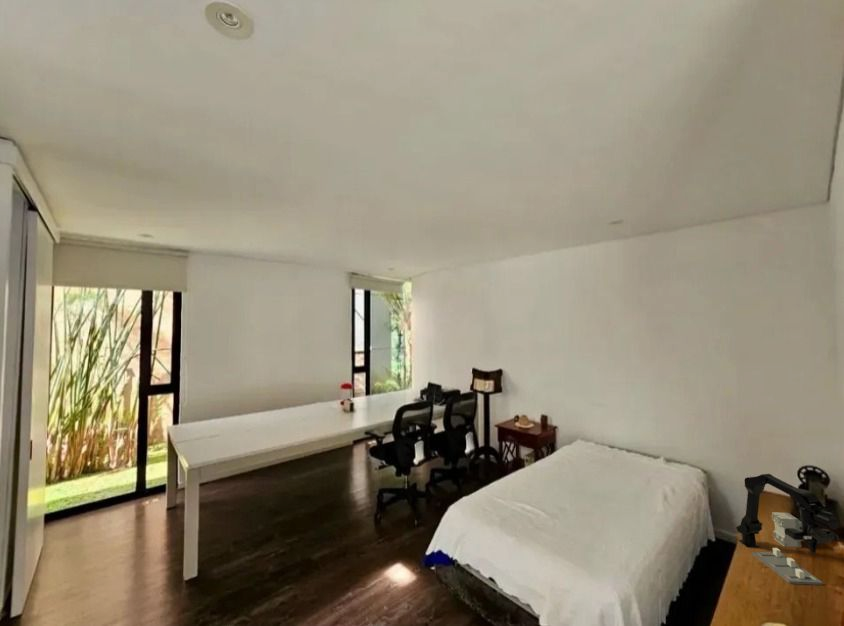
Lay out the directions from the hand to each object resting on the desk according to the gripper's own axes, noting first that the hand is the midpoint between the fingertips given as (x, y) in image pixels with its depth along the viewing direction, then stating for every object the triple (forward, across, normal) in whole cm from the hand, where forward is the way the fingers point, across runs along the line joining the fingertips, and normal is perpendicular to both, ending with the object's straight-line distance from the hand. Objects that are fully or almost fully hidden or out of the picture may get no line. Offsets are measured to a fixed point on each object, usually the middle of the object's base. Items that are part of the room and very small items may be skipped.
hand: (812, 552), depth 178 cm
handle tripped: (+12, -7, 0) cm, 13 cm away
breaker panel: (+13, -6, +9) cm, 17 cm away
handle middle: (+12, -3, +9) cm, 15 cm away
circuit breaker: (+13, +16, +33) cm, 39 cm away
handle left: (+12, -4, +18) cm, 22 cm away
